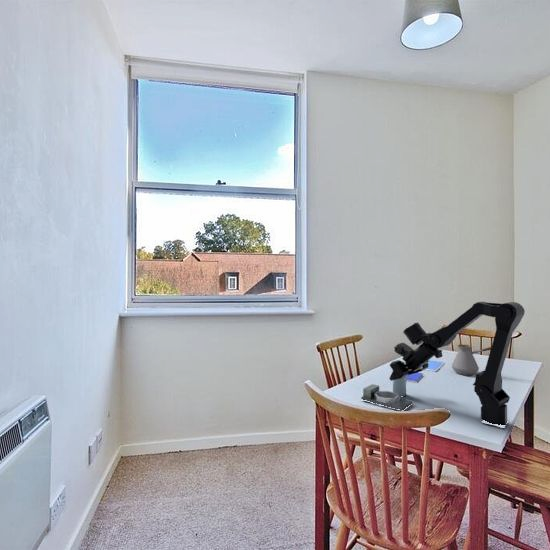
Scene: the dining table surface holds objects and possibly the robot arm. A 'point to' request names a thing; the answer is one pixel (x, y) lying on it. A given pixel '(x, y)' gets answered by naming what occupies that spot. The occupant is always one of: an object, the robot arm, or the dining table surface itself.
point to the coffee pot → (466, 360)
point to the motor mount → (385, 397)
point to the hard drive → (414, 377)
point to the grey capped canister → (400, 385)
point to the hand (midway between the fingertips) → (396, 377)
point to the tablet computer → (434, 365)
